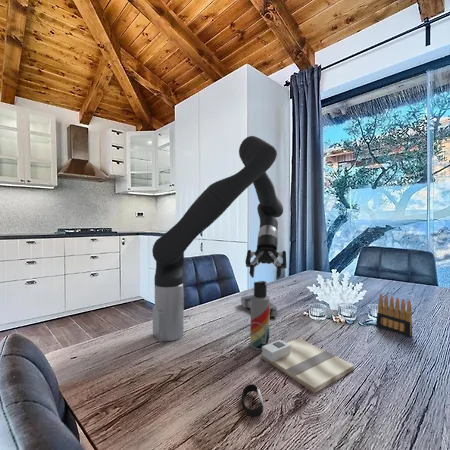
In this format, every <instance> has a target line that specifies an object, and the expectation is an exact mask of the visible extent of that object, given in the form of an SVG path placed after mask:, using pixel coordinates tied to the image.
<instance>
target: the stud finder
mask: <svg viewBox="0 0 450 450" xmlns="http://www.w3.org/2000/svg"><path fill="white" fill-rule="evenodd" d="M287 343H288V342H285V341H283V340H282V339H278V340H275V341H272V342H269V344H267V345H264V346H262V350H261V353H262V356H264V357H266V358H267V359H269V360H270V361H272V362H273V361H276V360H278V359H280V358H282V357H285V356H287V355H289V354H291V345H289V344H287Z"/></svg>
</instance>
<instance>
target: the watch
mask: <svg viewBox="0 0 450 450" xmlns="http://www.w3.org/2000/svg"><path fill="white" fill-rule="evenodd" d="M251 392H255V393H257V395H258V399H259V402H260V406H259V407H258V408H256V409H250V408H248V407H247V406H246V402H245V399H246V396H247V395H248V394H249V393H251ZM241 403H242V407H243V408H244V410H246V411H245V412H246V414H247V413H248V414H249V415H250V416H249V415H248V414H247V415H248V416H249V417H251V416H252V418H258V417H260V416H261V415H262V414H263V413H264V412H263V411H264V407H265V403H264V399H263V396H262V393H261V390H260V388H258V387H257V386H256V385H255V384H251V383H250V384H248V385H246V386H245V387H244V388H243V389H242V393H241Z"/></svg>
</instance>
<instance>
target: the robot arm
mask: <svg viewBox="0 0 450 450" xmlns="http://www.w3.org/2000/svg"><path fill="white" fill-rule="evenodd" d="M238 156H239V158H240V161H241V162H242V164H243V165H244V167H243V168H242V169H240V170H239V171H238V172H237V173H235V174H233V175H230V176H228V177H224V178H222V179H219V180H218V181H215V182H213V183H211V184H209V186H207V187H206V188H205V190H203V192H201V194H200V195H199V196H197V198H196V199H195V201H194V202H192V204H191V205H190V206H189V207H188V209H187V211H185V213H184V214H183V216H182V217H181V219H179V221H178V222H176V223H175V224H174V225H173V226H172V227H171V228H170V229H168V231H167V232H165V233H164V234H163V235H162V236H159V237H158V238H157V239H156V240H155V241H154V244H153V245H152V250H151V251H152V257H153V259H154V261H155V273H154V278H153V279H154V282H153V283H154V306H152V335H153V337H154V338H155V340H157V341H158V342H159V343H161V342H172V341H176V340H180V339H181V338H182V337H184V333H185V331H184V330H185V329H184V328H185V327H184V325H185V324H184V273H185V269H184V268H185V264H184V263H185V251H186V250H187V249H188V247H189V246H190V245H191V244H192V243H193V241H195V239H197V237H198V236H199V235H200V234H201V233H202V232H204V231H205V230H206V229H207V228H208V227H210V226H211V225H212V224H213V223H215V222H216V220H218V219H219V218H220V217H221V216H222V215H223V214H224V212H226V211H227V209H228V208H229V207H230V206H231V205H232V204H233V203H234V202H235V200H237V199H238V198H239V196H240V195H241V194H243V192H244V191H246V190H247V189H248V188H249V187H250V186H251V185H252V184H253V186H254V189H255V193H256V196H257V198H258V202H259V203H258V205H257V208H256V209H257V215H258V217H259V230H258V233H257V234H258V235H257V242H256V243H257V244H256V250H255V251H252V250H251V249H248V250H247V252H246V256H245V261H244V262H245V266H246V268H249V275H250V277H251V278H252V279H253V278H254V277H255V268H256V267H257V266H259V265H260V264H263V265H264V264H268V265H271V264H272V265H273V266H274V267H275V268H276V280H279V278H281V277H282V270H283V269H284V270H285V269H287V267H288V266H287V251H286V250H282V251H281V252H279V251H278V243H279V242H278V241H279V232H278V229H279V221H278V219H277V218H280V217H281V216H282V215H283V213H284V206H283V203H282V202H281V200H280V199H279V198H278V196H277V194H276V189H275V185H274V183H273V181H272V178H271V177H270V176H269V174H268V170H269V169H270V168H271V167H272V166H273V164H274V163H275V161H276V159H277V156H278V150H277V148H276V147H275V146H274V145H272V144H270V143H269V142H267V141H266V140H264V139H262V138H260V137H258V136H255V135H249V136H247V137H245V138H244V139H243V140H242V142H241V144H240V145H239V148H238ZM253 257H254V258H253ZM278 257H280V259H282V263H281V262H280V261H279V260H278ZM252 258H253V260H251V259H252Z"/></svg>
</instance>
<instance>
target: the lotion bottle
mask: <svg viewBox="0 0 450 450" xmlns="http://www.w3.org/2000/svg"><path fill="white" fill-rule="evenodd" d="M267 283H268V282H267V281H266V280H259V281H254V282H253V294H251V295H252V296H251V309H250V325H249V326H250V335H249V337H250V339H249V340H250V341H249V342H250V343H249V344H250V347H251V348H252V349H253V350H256V351H262V346H264V345H267V344H270V318H271V317H270V303H271V301H270V296H269V295H267V292H268V289H267V288H268V287H267V286H268V285H267Z"/></svg>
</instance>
